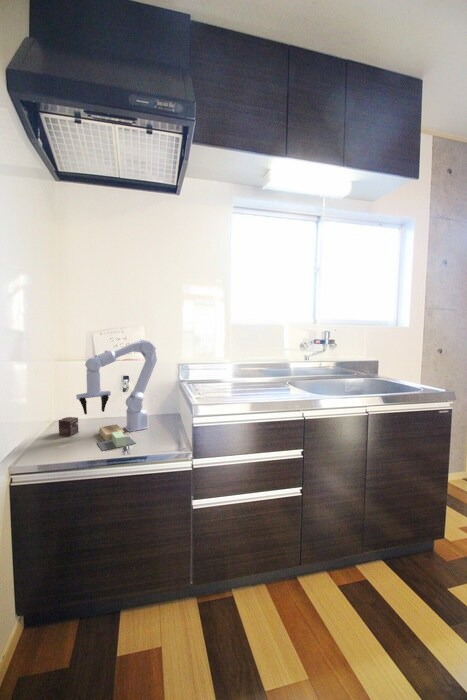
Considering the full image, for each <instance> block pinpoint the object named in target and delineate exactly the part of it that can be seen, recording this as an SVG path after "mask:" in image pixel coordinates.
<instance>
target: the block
mask: <svg viewBox="0 0 467 700" xmlns="http://www.w3.org/2000/svg"><path fill="white" fill-rule="evenodd" d="M126 437H127V436H126V434H125V433H124V434H123V433H122V432H121V431H118V432H112V442H113V444H114V445H115V446H116V447H118V448H122V447H121V446H123V447H127V446H126Z"/></svg>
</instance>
